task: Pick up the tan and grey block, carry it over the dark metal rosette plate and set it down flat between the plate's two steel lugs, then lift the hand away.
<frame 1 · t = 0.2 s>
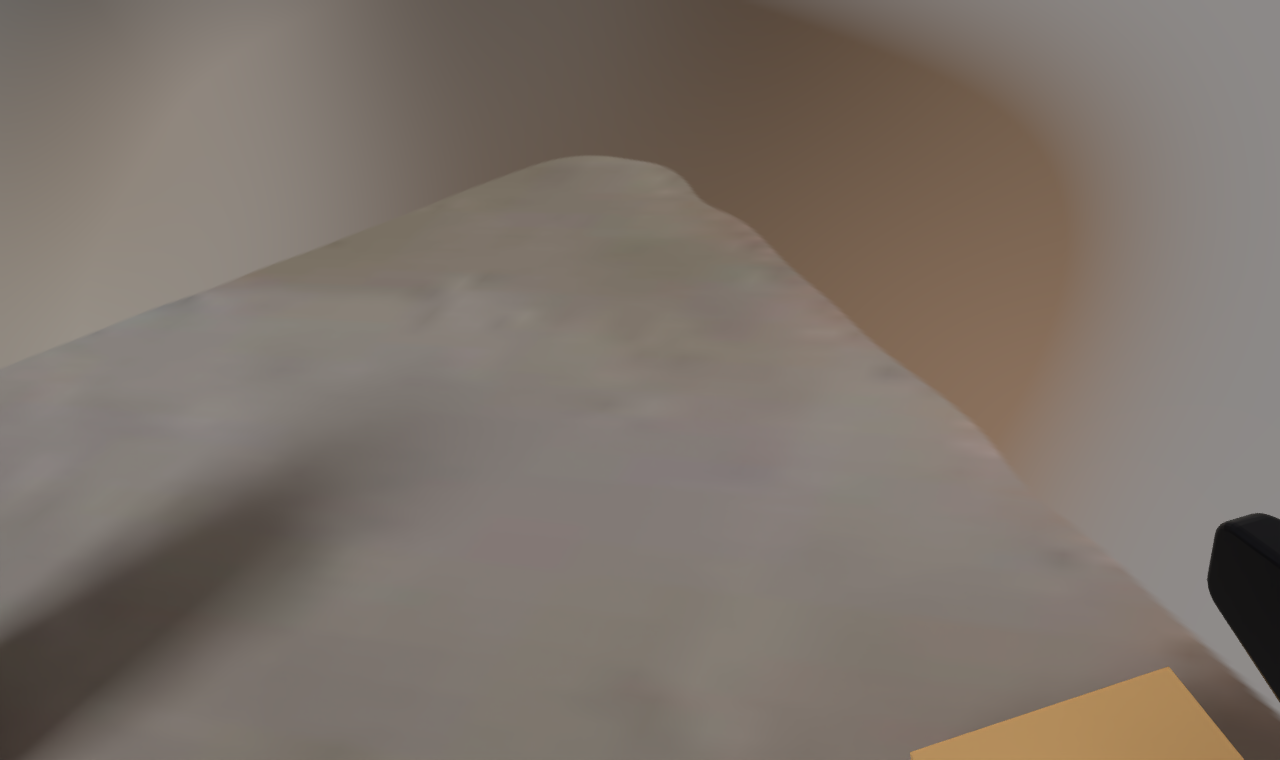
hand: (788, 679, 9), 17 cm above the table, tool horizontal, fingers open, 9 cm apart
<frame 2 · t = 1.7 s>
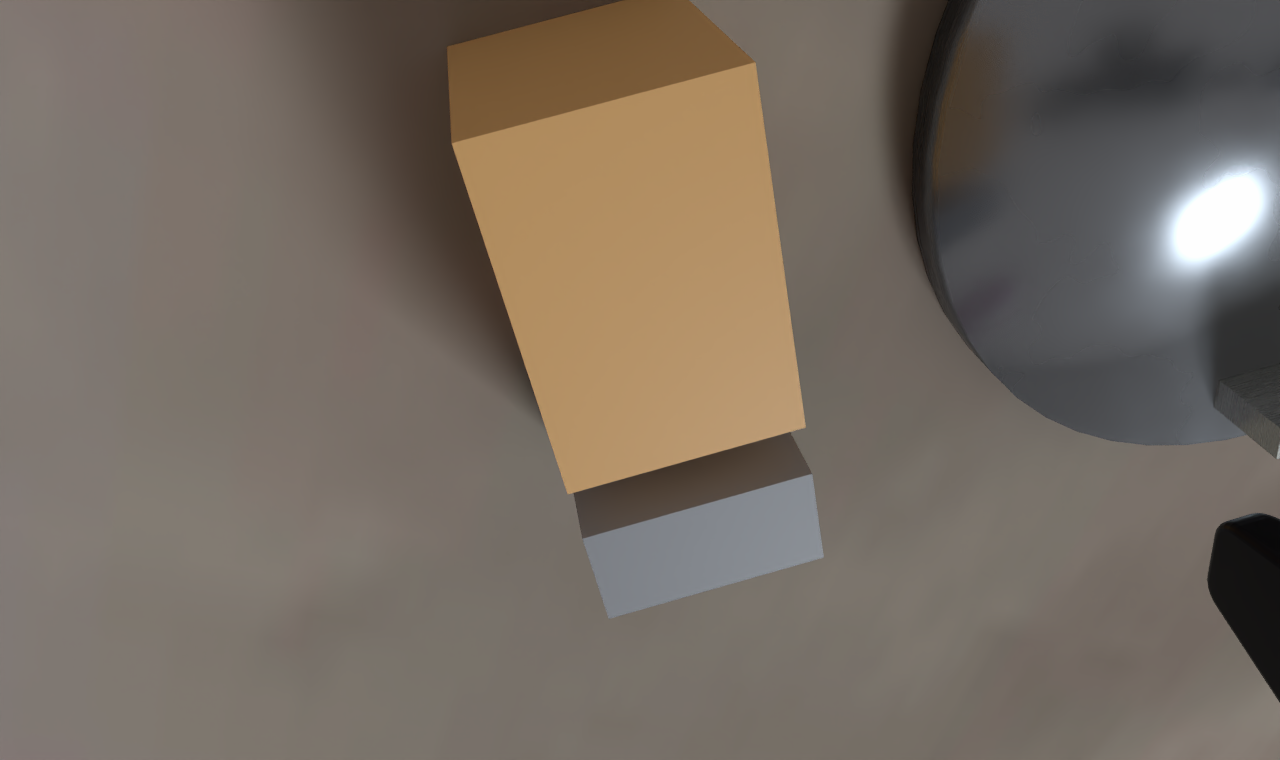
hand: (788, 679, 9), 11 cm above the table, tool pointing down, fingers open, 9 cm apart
tan and grey block: (612, 226, 19), on the table
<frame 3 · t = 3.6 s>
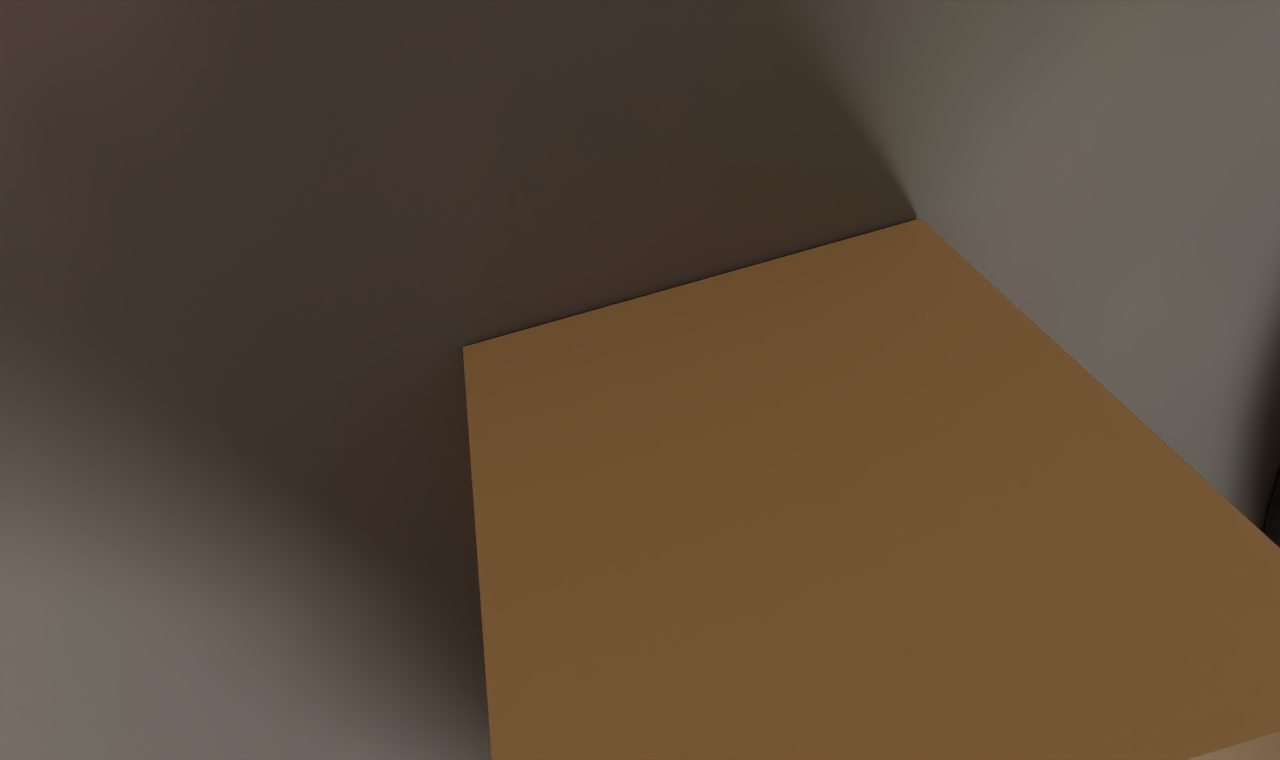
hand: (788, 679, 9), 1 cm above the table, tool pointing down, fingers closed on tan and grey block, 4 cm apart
tan and grey block: (758, 603, 10), on the table, touching gripper
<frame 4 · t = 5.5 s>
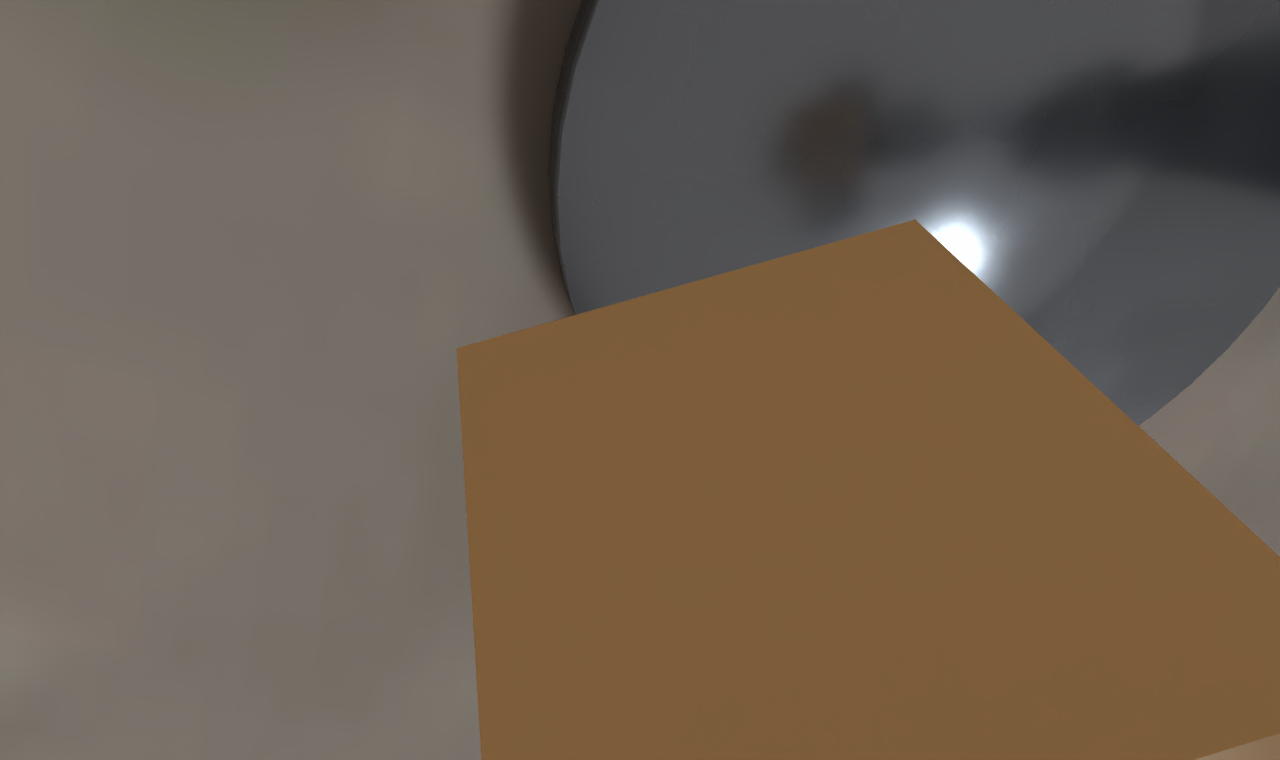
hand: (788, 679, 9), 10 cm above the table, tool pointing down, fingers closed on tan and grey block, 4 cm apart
tan and grey block: (754, 604, 10), point 9 cm above the table, touching gripper
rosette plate: (958, 161, 19), on the table
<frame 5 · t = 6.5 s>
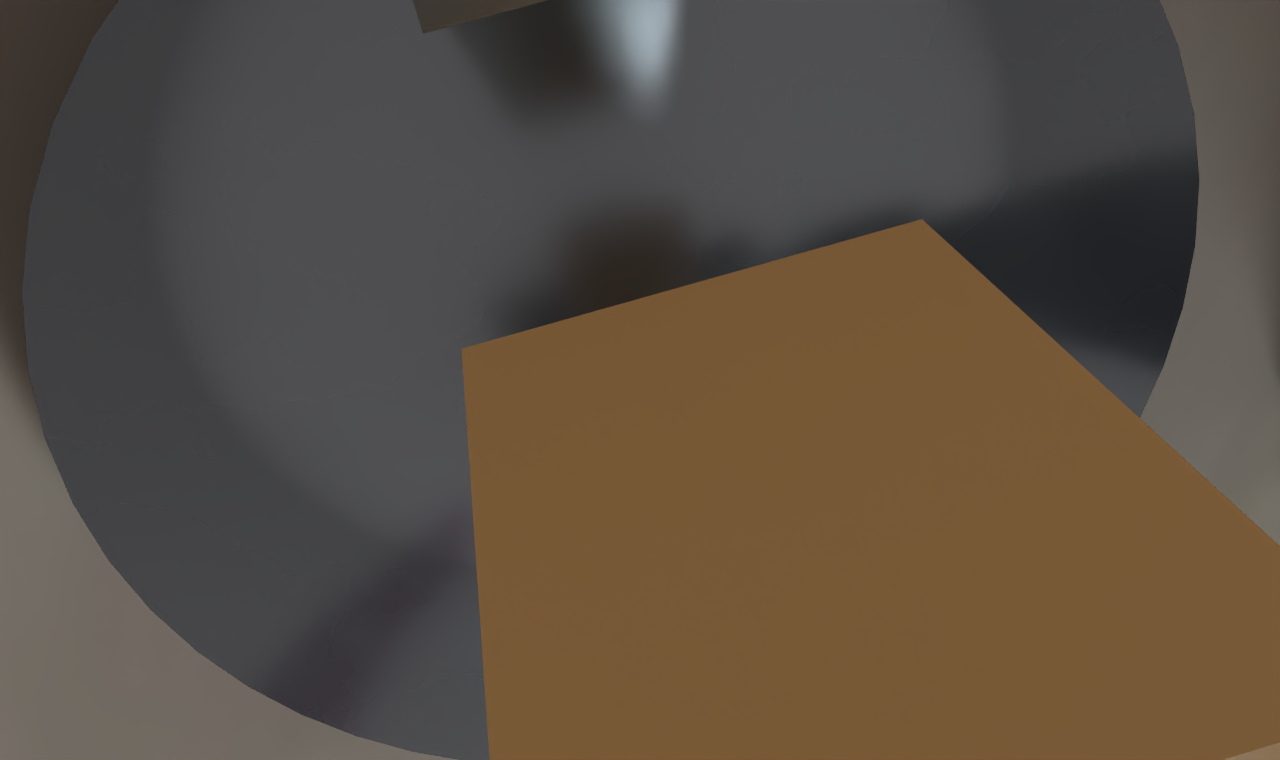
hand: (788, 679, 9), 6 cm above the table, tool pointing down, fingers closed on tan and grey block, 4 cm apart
tan and grey block: (759, 606, 10), point 5 cm above the table, touching gripper
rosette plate: (649, 355, 15), on the table
when the fingers open (4 cm above the table, at t = 7.3 s): tan and grey block drops 1 cm, resting on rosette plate.
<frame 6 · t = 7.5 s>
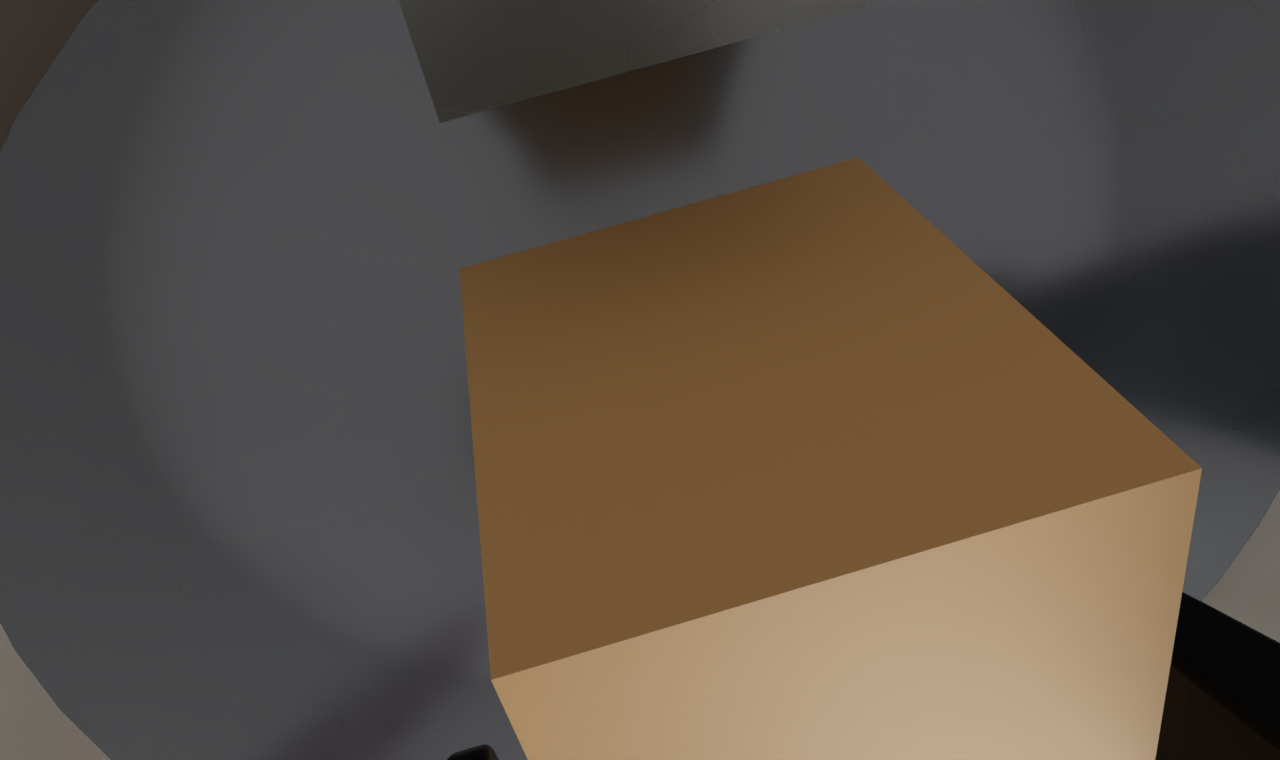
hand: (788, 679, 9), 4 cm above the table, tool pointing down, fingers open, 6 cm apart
tan and grey block: (725, 513, 12), point 1 cm above the table, touching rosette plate
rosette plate: (696, 456, 13), on the table
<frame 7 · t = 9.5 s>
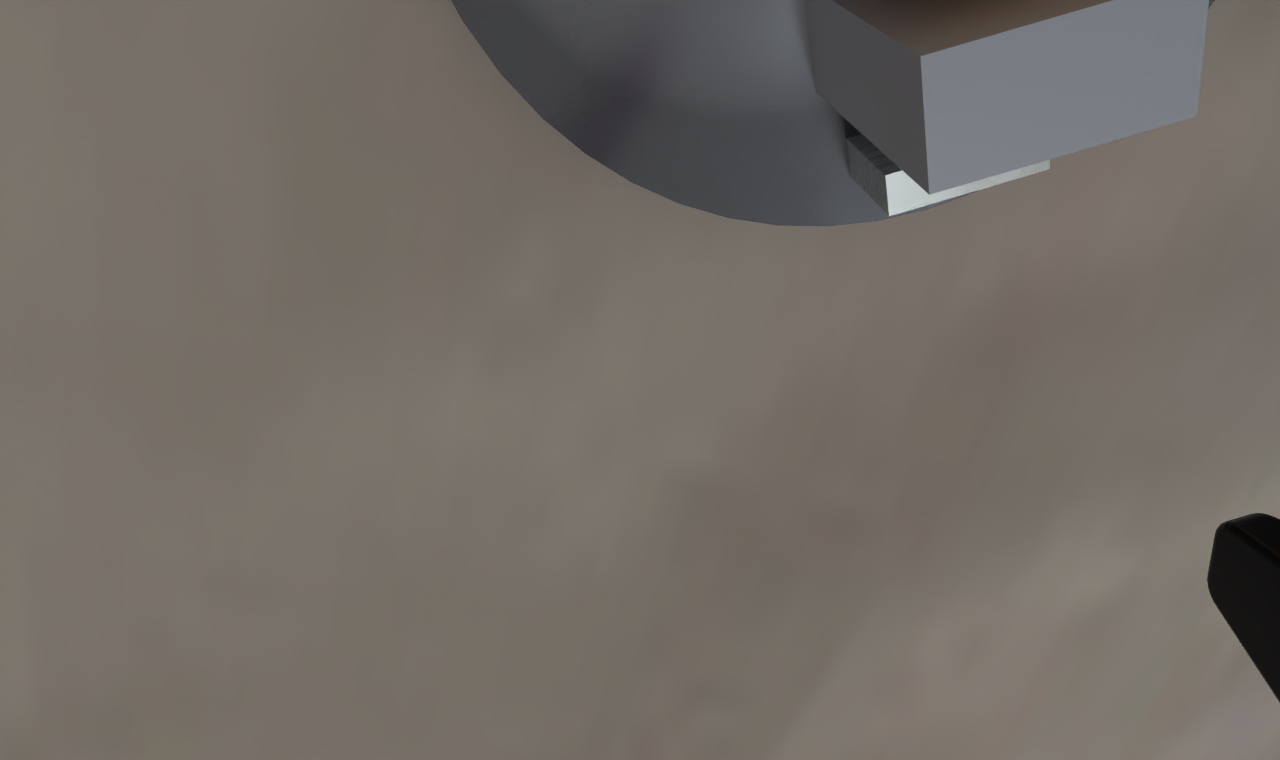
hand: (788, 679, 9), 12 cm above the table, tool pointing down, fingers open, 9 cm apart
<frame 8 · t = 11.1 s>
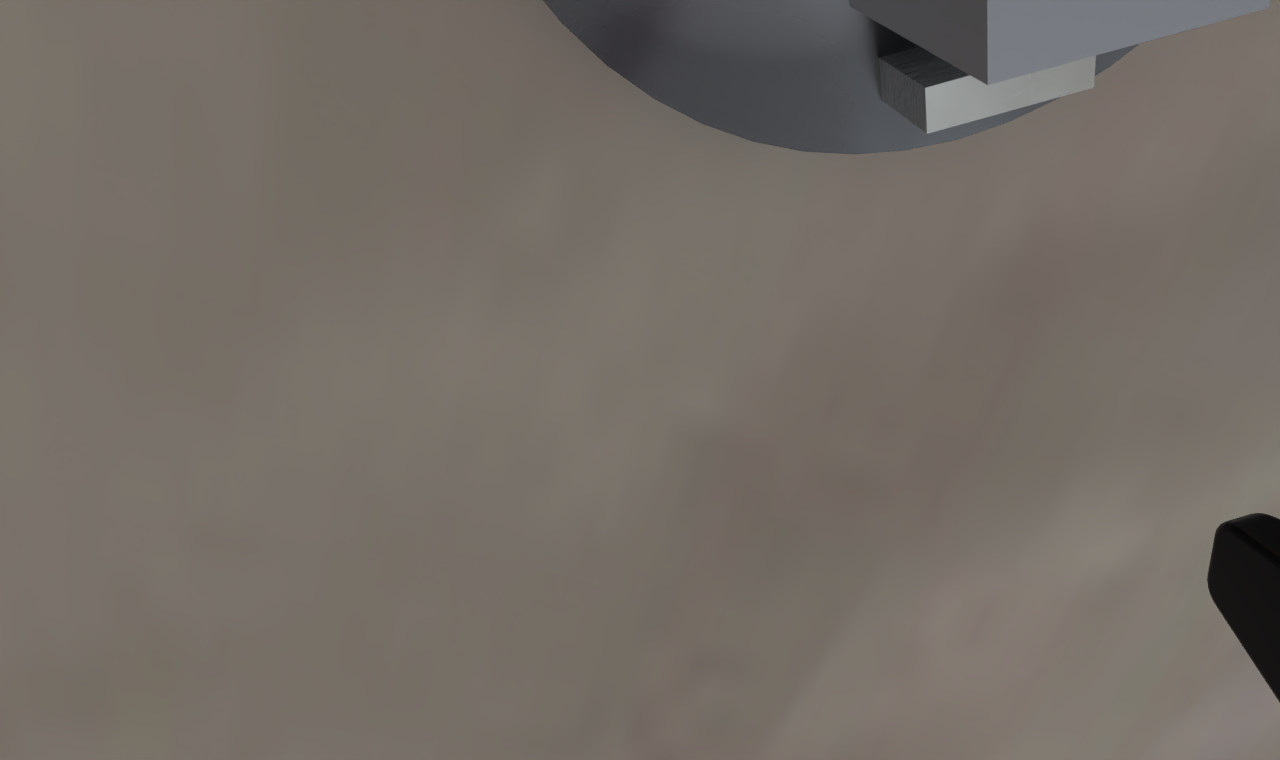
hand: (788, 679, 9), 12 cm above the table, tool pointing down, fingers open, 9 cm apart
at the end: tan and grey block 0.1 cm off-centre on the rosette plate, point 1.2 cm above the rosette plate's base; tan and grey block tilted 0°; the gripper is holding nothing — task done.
